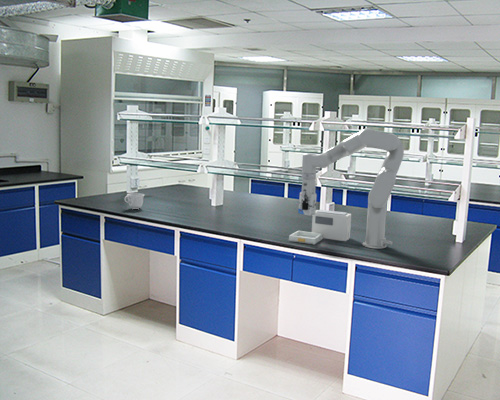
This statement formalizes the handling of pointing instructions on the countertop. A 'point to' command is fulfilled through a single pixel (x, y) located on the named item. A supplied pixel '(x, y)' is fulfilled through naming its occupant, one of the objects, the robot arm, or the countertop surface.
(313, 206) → the ink box
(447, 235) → the countertop surface
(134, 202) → the teacup
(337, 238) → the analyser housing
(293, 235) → the tray
